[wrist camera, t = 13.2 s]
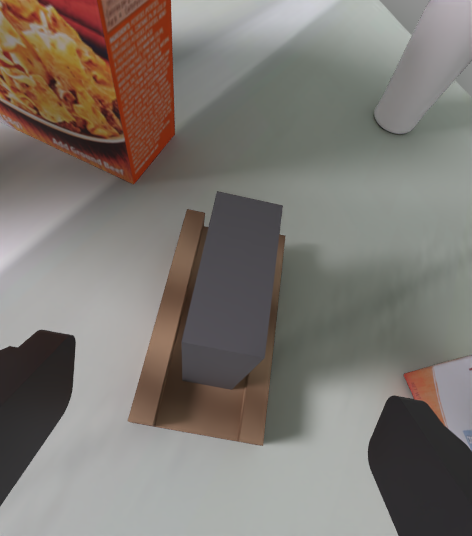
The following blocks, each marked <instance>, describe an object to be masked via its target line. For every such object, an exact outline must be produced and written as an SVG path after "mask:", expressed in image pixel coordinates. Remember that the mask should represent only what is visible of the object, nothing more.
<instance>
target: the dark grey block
mask: <svg viewBox="0 0 472 536" xmlns="http://www.w3.org/2000/svg"><path fill="white" fill-rule="evenodd" d="M282 207H283V206H282V205H278V204H273V203H269V202H264V201H259V200H255V199H250V198H246V197H241V196H236V195H232V194H227V193H223V192H218V191H217V194H216V198H215V202H214V207H213V211H212V215H211V219H210V223H209V228H208V232H207V236H206V240H205V245H204V249H203V253H202V257H201V261H200V266H199V270H198V274H197V278H196V283H195V287H194V291H193V295H192V299H191V304H190V308H189V312H188V316H187V321H186V325H185V329H184V333H183V337H182V342H181V344H182V381H187V382H192V383H198V384H203V385H208V386H214V387H219V388H224V389H230V390H232V389H233V388H234V387H235V386H236V385H237V384H238V383H239V382H240V381H241V380H242V379H243V378H244V377H245V376H247V375H248V374H249V373H250V372H251V371H252V370H253V369H254V368H255V367H256V366H257V365H258V364H259V363H260V362H261V361H262V360H263V359H264V358H265V352H266V343H267V335H268V326H269V318H270V309H271V301H272V292H273V284H274V275H275V267H276V258H277V250H278V241H279V233H280V224H281V216H282Z"/></svg>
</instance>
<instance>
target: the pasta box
mask: <svg viewBox="0 0 472 536" xmlns="http://www.w3.org/2000/svg"><path fill="white" fill-rule="evenodd" d="M0 122H1V123H4V124H6V125H8V126H10V127H12V128H14V129H16V130H18V131H21V132H23V133H25V134H27V135H29V136H31V137H33V138H36V139H38V140H40V141H42V142H44V143H46V144H48V145H51V146H53V147H55V148H57V149H59V150H61V151H63V152H65V153H68V154H70V155H72V156H74V157H76V158H78V159H80V160H83V161H85V162H87V163H89V164H91V165H93V166H95V167H98V168H100V169H102V170H104V171H106V172H108V173H110V174H112V175H115V176H117V177H119V178H121V179H123V180H125V181H127V182H130V183H132V184H135V182H136V181H137V180H138V179H139V178H140V176H141V175H142V174H143V173H144V171H145V170H146V169H147V168H148V167H149V165H150V164H151V163H152V162H153V160H154V159H155V158H156V157H157V155H158V154H159V153H160V152H161V151H162V149H163V148H164V147H165V146H166V144H167V143H168V142H169V141H170V140H171V138H172V137H173V136H174V135H175V121H174V89H173V56H172V23H171V0H0Z"/></svg>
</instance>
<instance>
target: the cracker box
mask: <svg viewBox="0 0 472 536" xmlns="http://www.w3.org/2000/svg"><path fill="white" fill-rule="evenodd" d="M404 377H405V379H406V381H407V384H408V386H409V388H410V390H411V392H412V395H413V397H414V399H415V400H421V401H424V402H426V403H427V404H428V405H429V406H430V408H431V409H432V410H433V412H434V413H435V414H436V415H437V417H438V418H439V419H440V421H441V422H442V423H443V425H444V426H446V427H447V428H448V429H449V430H450V431H451V432H453V433H454V434H455V435H456V436H457V437H458V438H460V439H461V440H462V441H463V442H464V443H465V444H466V445H467V446H468V447H469V448H470V450H471V451H472V355H469V356H465V357H461V358H457V359H453V360H450V361H446V362H443V363H439V364H436V365H432V366H429V367H425V368H422V369H419V370H415V371H412V372H408V373H405V374H404Z"/></svg>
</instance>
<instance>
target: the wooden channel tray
mask: <svg viewBox="0 0 472 536" xmlns="http://www.w3.org/2000/svg"><path fill="white" fill-rule="evenodd" d="M204 219H205V213H203V212H198V211H193V210H189V209H187V211H186V215H185V218H184V222H183V225H182V229H181V232H180V236H179V240H178V243H177V247H176V250H175V254H174V257H173V261H172V265H171V268H170V272H169V275H168V279H167V282H166V286H165V290H164V293H163V297H162V300H161V304H160V307H159V311H158V315H157V318H156V322H155V325H154V329H153V332H152V336H151V340H150V343H149V347H148V350H147V354H146V357H145V361H144V365H143V368H142V372H141V375H140V379H139V382H138V386H137V390H136V393H135V397H134V400H133V404H132V407H131V411H130V415H129V418H128V422H132V423H137V424H143V425H148V426H154V427H160V428H165V429H171V430H176V431H182V432H188V433H193V434H199V435H204V436H210V437H216V438H221V439H227V440H232V441H238V442H244V443H249V444H255V445H262V446H263V440H264V431H265V422H266V412H267V403H268V394H269V384H270V375H271V365H272V356H273V347H274V337H275V328H276V319H277V309H278V300H279V291H280V281H281V272H282V262H283V253H284V244H285V236H284V235H280V234H279V241H278V250H277V258H276V267H275V275H274V284H273V292H272V301H271V309H270V318H269V326H268V335H267V343H266V352H265V358H264V359H263V360H262V361H261V362H260V363H259V364H258V365H257V366H256V367H255V368H254V369H253V370H252V371H251V372H250V373H249V374H248V375H247V376H245V377H244V378H243V379H242V380H241V381H240V382H239V383H238V384H237V385H236V386H235V387H234V388H233V389H232V390H230V389H224V388H219V387H214V386H208V385H203V384H198V383H192V382H187V381H182V344H181V342H182V337H183V333H184V329H185V325H186V321H187V316H188V312H189V308H190V304H191V299H192V295H193V291H194V287H195V283H196V278H197V274H198V270H199V266H200V261H201V257H202V253H203V249H204V245H205V240H206V236H207V232H208V228H209V227H204Z"/></svg>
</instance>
